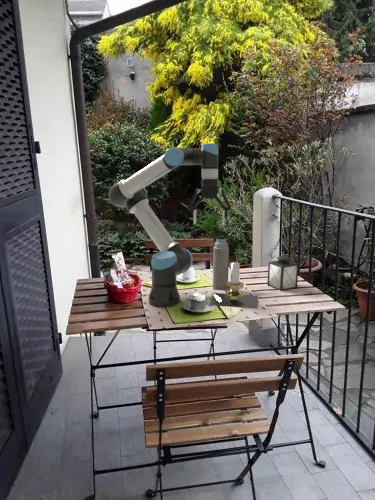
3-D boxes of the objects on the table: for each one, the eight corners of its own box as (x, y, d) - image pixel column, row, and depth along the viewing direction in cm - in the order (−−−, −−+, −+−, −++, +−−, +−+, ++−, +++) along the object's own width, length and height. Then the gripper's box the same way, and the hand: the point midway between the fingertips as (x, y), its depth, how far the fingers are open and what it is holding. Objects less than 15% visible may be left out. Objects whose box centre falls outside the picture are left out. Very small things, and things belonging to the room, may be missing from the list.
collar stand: (208, 308, 188) (208, 286, 186) (213, 295, 205) (213, 275, 203) (257, 311, 184) (258, 289, 181) (258, 298, 201) (259, 277, 199)
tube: (230, 298, 196) (231, 262, 193) (238, 299, 196) (239, 262, 192) (229, 301, 193) (230, 264, 189) (238, 301, 192) (239, 264, 188)
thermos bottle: (228, 286, 219) (229, 235, 213) (227, 291, 212) (228, 238, 206) (213, 286, 221) (214, 234, 215) (211, 290, 213) (212, 237, 207)
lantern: (283, 282, 227) (285, 232, 221) (297, 288, 218) (300, 236, 212) (267, 285, 222) (269, 234, 216) (281, 291, 212) (283, 238, 206)
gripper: (181, 178, 187) (181, 224, 192) (236, 178, 182) (235, 226, 187) (184, 177, 194) (184, 222, 199) (237, 178, 189) (236, 223, 194)
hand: (209, 224), depth 193 cm, fingers open, 13 cm apart
